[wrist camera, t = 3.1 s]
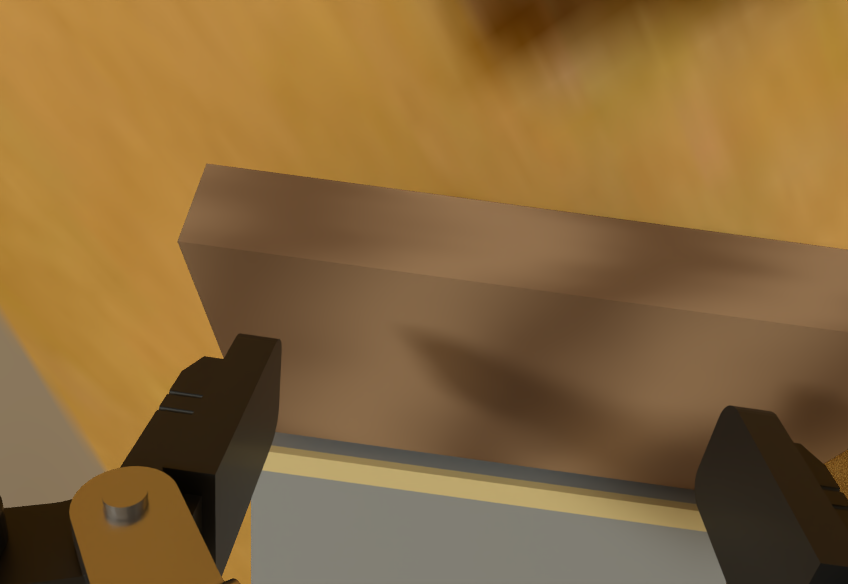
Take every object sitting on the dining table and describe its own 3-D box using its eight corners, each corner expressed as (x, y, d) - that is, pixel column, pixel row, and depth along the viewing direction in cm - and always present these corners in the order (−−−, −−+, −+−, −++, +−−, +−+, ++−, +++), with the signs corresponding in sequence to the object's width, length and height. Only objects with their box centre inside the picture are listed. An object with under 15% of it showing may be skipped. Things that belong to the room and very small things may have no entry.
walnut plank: (979, 267, 15) (1008, 354, 14) (755, 437, 23) (763, 499, 22) (206, 163, 15) (177, 241, 14) (267, 371, 23) (251, 428, 22)
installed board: (738, 468, 24) (762, 519, 22) (672, 624, 28) (687, 680, 26) (268, 403, 24) (248, 449, 22) (265, 567, 28) (248, 618, 26)
